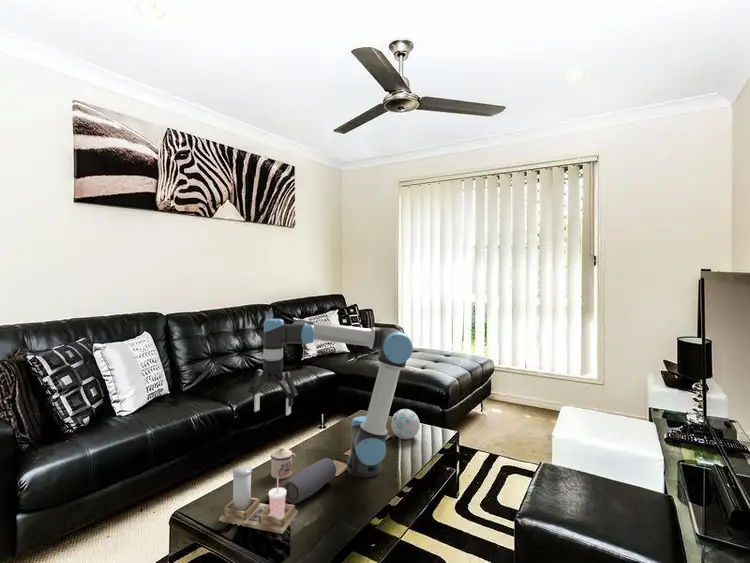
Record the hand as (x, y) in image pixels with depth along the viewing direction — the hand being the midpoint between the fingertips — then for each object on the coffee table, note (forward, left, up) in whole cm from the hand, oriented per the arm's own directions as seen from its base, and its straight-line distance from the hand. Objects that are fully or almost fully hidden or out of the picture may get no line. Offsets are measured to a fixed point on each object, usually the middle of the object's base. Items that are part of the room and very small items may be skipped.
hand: (272, 412), depth 161 cm
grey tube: (+3, +16, -31) cm, 35 cm away
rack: (-4, +16, -32) cm, 36 cm away
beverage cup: (-11, +16, -31) cm, 36 cm away
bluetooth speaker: (-15, -4, -32) cm, 36 cm away
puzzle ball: (-42, -67, -32) cm, 85 cm away
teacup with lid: (+2, -15, -32) cm, 35 cm away
